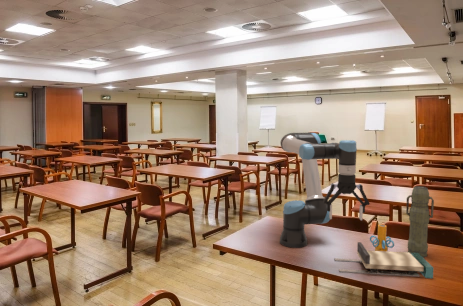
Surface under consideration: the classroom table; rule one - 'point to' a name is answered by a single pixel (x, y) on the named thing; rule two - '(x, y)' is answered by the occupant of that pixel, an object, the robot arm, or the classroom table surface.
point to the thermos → (419, 220)
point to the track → (426, 273)
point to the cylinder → (381, 239)
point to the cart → (388, 260)
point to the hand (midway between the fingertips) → (345, 218)
